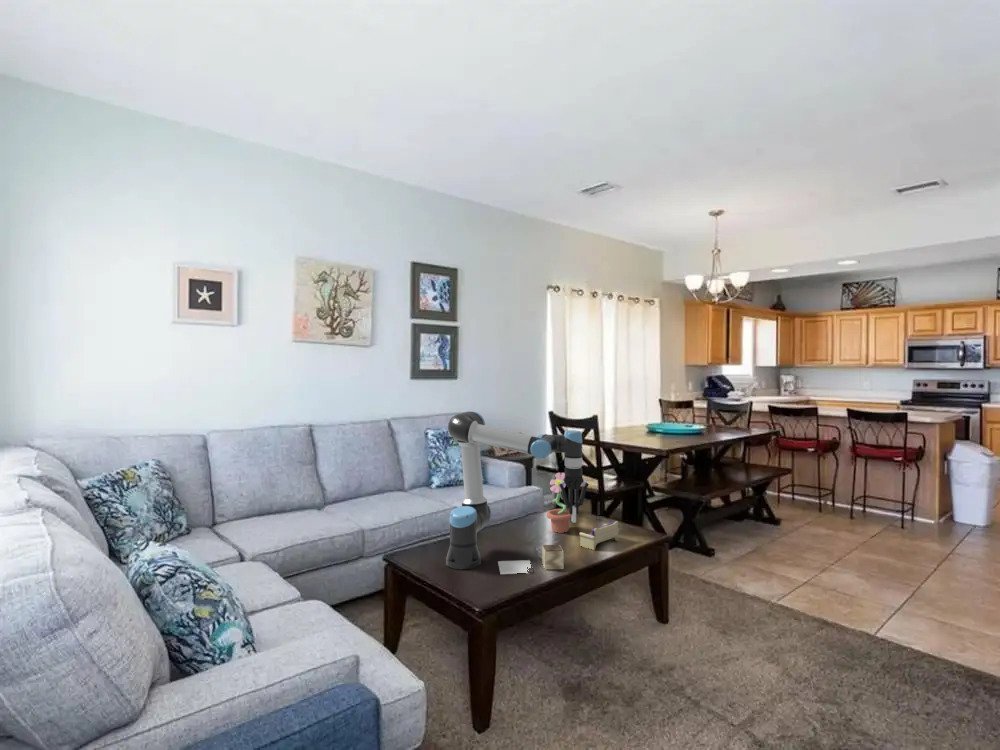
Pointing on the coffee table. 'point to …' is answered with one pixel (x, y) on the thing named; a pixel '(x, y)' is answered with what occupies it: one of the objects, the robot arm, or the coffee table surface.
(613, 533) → the toy sofa
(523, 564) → the grey mat
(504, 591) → the coffee table surface
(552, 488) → the decorative flower
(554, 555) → the maple cube
